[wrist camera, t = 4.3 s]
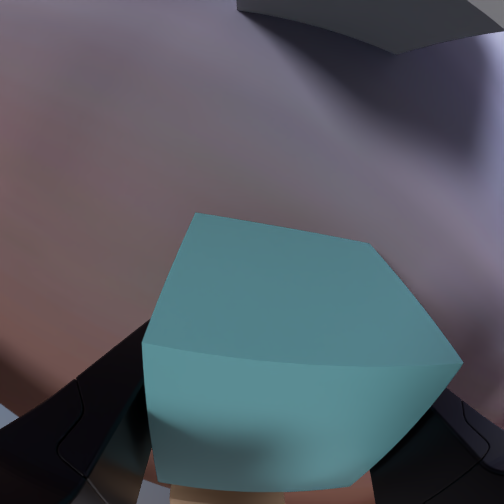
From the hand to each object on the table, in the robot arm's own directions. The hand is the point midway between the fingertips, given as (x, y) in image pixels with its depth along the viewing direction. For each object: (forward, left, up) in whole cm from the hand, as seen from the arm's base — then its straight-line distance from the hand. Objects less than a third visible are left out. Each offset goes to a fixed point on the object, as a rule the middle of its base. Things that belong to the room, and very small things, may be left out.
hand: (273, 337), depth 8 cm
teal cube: (0, 0, -2) cm, 2 cm away
